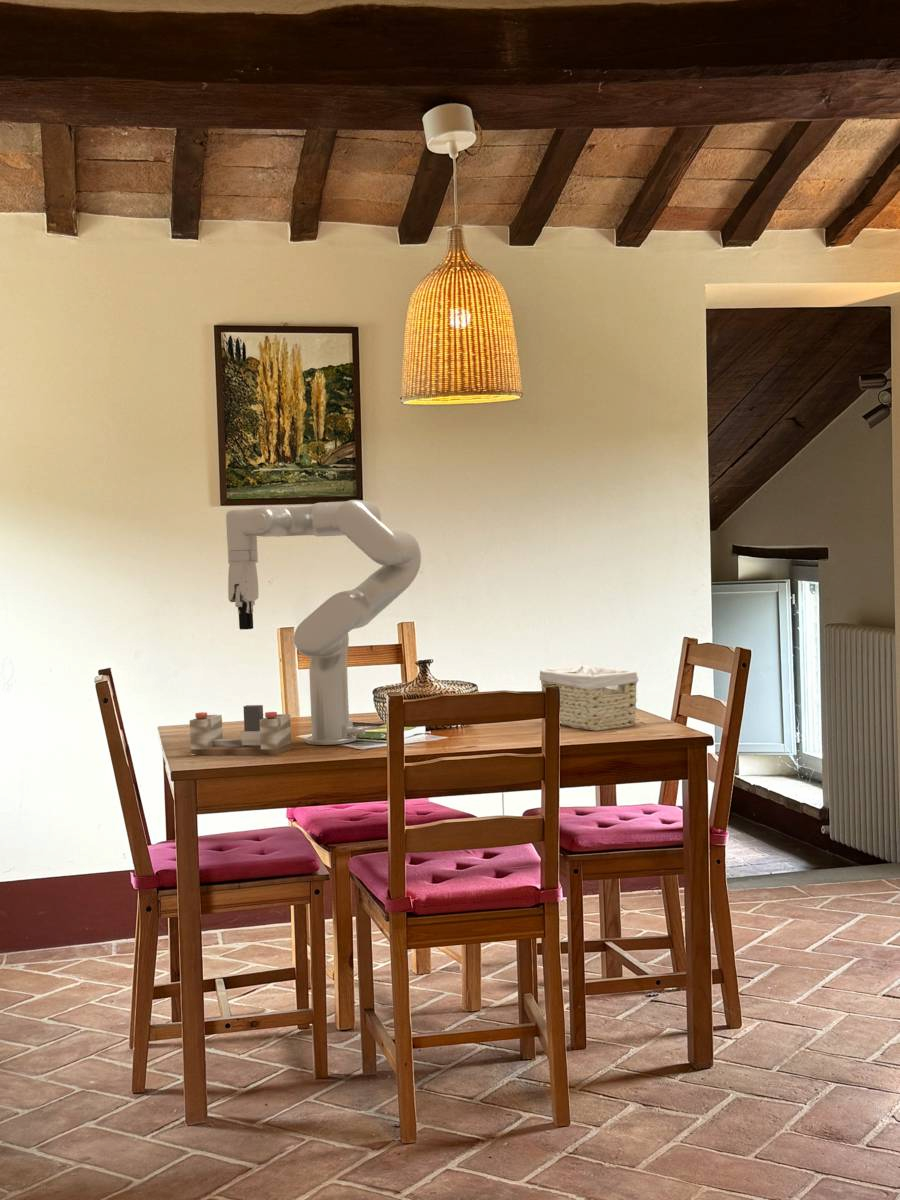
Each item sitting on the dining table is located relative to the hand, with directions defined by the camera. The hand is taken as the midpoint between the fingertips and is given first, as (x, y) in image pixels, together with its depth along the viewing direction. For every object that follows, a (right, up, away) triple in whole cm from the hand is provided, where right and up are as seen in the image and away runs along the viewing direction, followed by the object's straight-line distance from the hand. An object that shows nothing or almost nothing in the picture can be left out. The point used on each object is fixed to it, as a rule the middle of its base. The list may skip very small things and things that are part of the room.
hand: (246, 629), depth 332 cm
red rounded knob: (-8, -23, -18) cm, 30 cm away
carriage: (+5, -28, -18) cm, 33 cm away
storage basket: (+89, -26, +8) cm, 93 cm away
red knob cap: (+9, -23, -22) cm, 33 cm away
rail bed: (+1, -30, -17) cm, 34 cm away
